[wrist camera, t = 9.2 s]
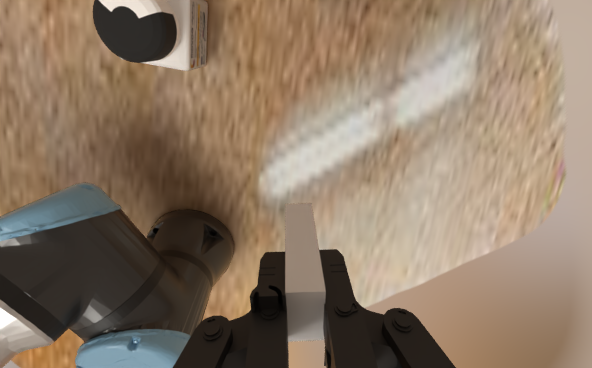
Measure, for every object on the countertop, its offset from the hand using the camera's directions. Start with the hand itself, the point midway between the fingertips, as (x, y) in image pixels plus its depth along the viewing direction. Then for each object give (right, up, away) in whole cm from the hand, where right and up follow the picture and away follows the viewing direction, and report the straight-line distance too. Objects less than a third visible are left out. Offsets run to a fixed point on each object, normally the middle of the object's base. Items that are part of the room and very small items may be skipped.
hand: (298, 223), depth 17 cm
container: (-16, +23, +20) cm, 34 cm away
